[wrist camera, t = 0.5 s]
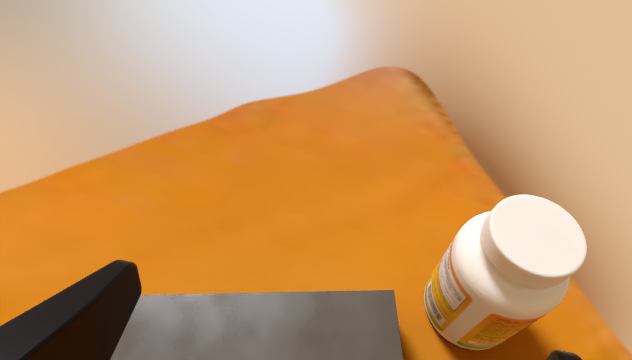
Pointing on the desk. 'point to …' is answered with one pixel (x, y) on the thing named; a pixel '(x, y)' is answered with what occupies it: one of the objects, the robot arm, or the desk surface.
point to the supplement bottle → (504, 271)
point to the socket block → (263, 327)
